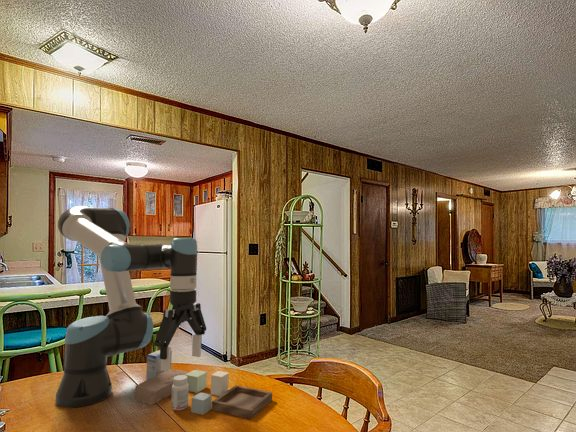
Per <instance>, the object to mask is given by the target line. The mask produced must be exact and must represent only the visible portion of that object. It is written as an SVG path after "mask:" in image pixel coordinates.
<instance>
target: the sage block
mask: <svg viewBox="0 0 576 432" xmlns="http://www.w3.org/2000/svg"><path fill="white" fill-rule="evenodd" d="M185 375H186V376H187V377H188V381H187V383H188V384H189V390H188V392H191V393H195V394H199V393H200V392H201V391H203V390H205V389H206V388H207V387H208V386H207V383H208V381H207V379H208V372H207V371H205V370H199V369H193V370H191V371H189V372H188V373H187V374H185Z"/></svg>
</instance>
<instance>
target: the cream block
mask: <svg viewBox="0 0 576 432" xmlns="http://www.w3.org/2000/svg"><path fill="white" fill-rule="evenodd" d="M229 376H230V374H229V372H227V371H221V370H217V371H215V372H213V373H212V374H211V375H210V395H212V396H217V397H219V396H221V395H222V394H224V393H225V392H227V391H228V390H229V378H230V377H229Z"/></svg>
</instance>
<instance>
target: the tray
mask: <svg viewBox="0 0 576 432" xmlns="http://www.w3.org/2000/svg"><path fill="white" fill-rule="evenodd" d="M272 401H273V392H271V391H267V390H262V389H259V388H253V387H248V386H243V385H238V384H235V385H234V386H232V387H231V388H229V389H228V391H227V392H225V393H224V394H222V395H221V396H217V397H216V398H215V399H214V400H213V399H212V404H211V410H212V411H216V412H220V413H224V414H228V415H233V416H237V417H241V418H244V419H248V420H252V419H254V417H256V416H257V415H258V414H259V413H261V411H262V410H264V408H266V406H268V405H269V404H270V403H271V402H272Z"/></svg>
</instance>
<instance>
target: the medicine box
mask: <svg viewBox="0 0 576 432" xmlns="http://www.w3.org/2000/svg"><path fill="white" fill-rule="evenodd" d="M172 355H173V351H172V349H171V356H170V369H172ZM163 372H165V371H163V370H161V359H160V349H159V350H156V351H153V352H152V353H148V354H147V356H146V372H145V373H146V374H145V376H146V378H145V380H148V379H151V378H153V377H156V376H158V375H159V374H161V373H163Z"/></svg>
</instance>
